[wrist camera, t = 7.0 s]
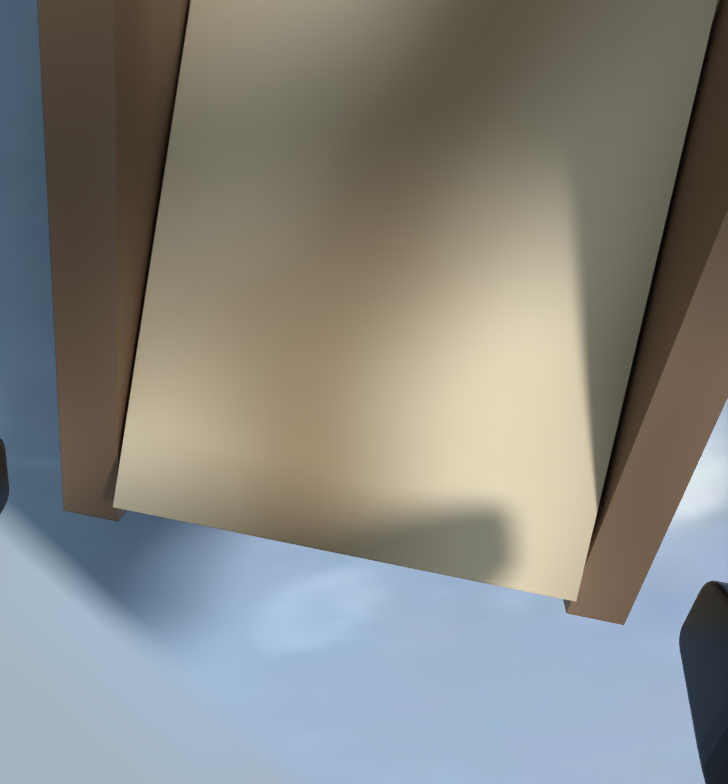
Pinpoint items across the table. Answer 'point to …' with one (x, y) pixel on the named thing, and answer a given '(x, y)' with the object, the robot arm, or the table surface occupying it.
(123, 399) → the brown wooden open box
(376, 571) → the table surface
